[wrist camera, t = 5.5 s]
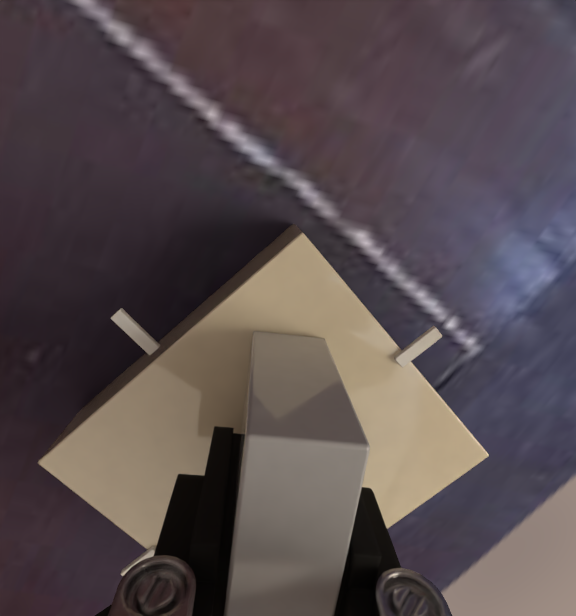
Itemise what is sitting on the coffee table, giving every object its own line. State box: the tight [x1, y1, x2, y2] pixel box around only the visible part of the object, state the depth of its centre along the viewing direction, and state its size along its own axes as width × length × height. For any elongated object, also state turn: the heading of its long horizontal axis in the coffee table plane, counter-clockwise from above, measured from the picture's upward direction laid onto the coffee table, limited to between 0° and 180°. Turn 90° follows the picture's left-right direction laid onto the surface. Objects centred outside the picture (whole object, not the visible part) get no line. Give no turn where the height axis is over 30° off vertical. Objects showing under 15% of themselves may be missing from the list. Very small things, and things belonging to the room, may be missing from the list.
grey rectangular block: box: [223, 331, 370, 616], centre depth 10 cm, size 8×2×5 cm, turn 172°
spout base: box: [38, 224, 489, 576], centre depth 14 cm, size 12×12×3 cm
